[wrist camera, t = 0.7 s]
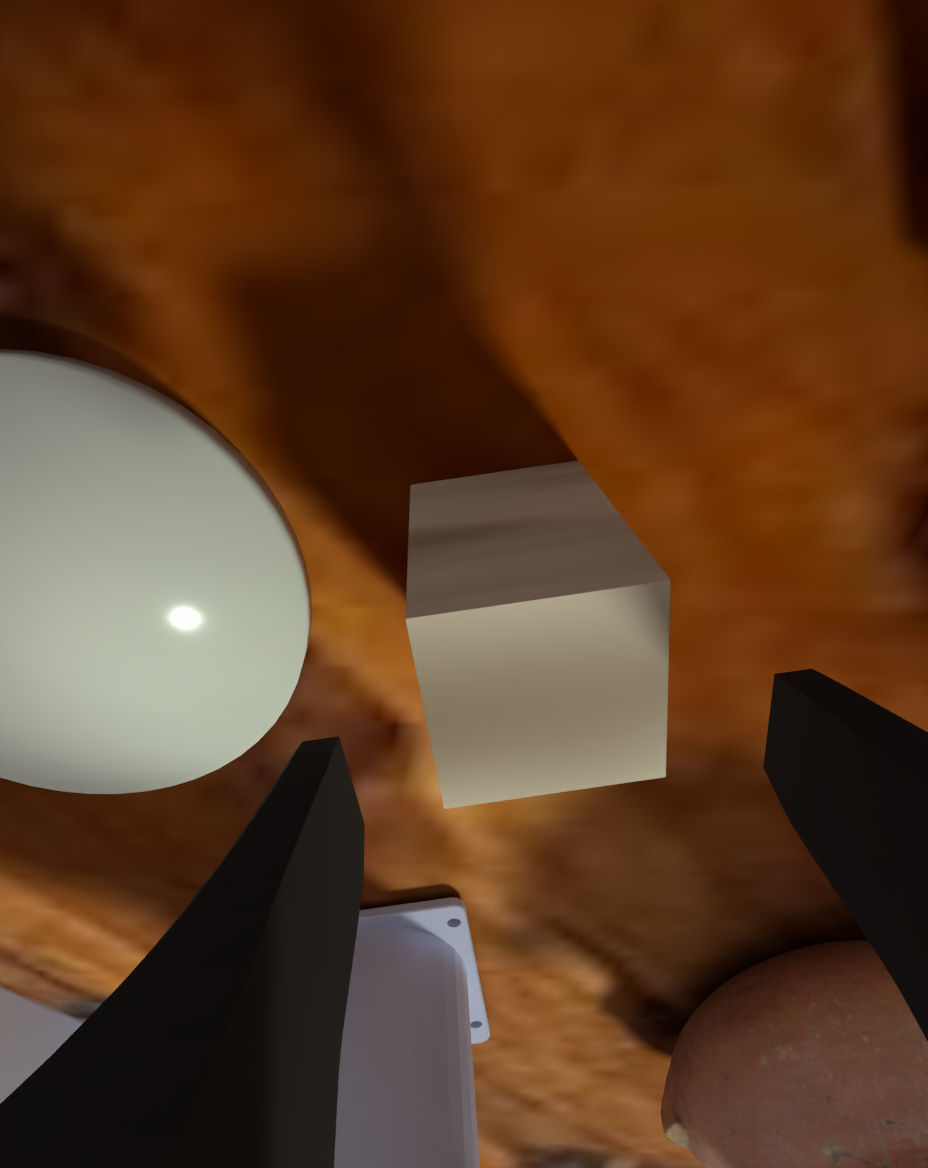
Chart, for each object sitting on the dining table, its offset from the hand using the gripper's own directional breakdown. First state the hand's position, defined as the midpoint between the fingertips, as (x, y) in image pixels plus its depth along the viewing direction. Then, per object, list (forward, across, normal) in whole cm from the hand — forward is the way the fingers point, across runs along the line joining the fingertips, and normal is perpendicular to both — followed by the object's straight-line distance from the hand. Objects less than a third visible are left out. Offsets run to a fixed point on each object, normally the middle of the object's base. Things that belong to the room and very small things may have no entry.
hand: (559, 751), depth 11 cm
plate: (+8, +12, 0) cm, 15 cm away
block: (+8, 0, 0) cm, 8 cm away
